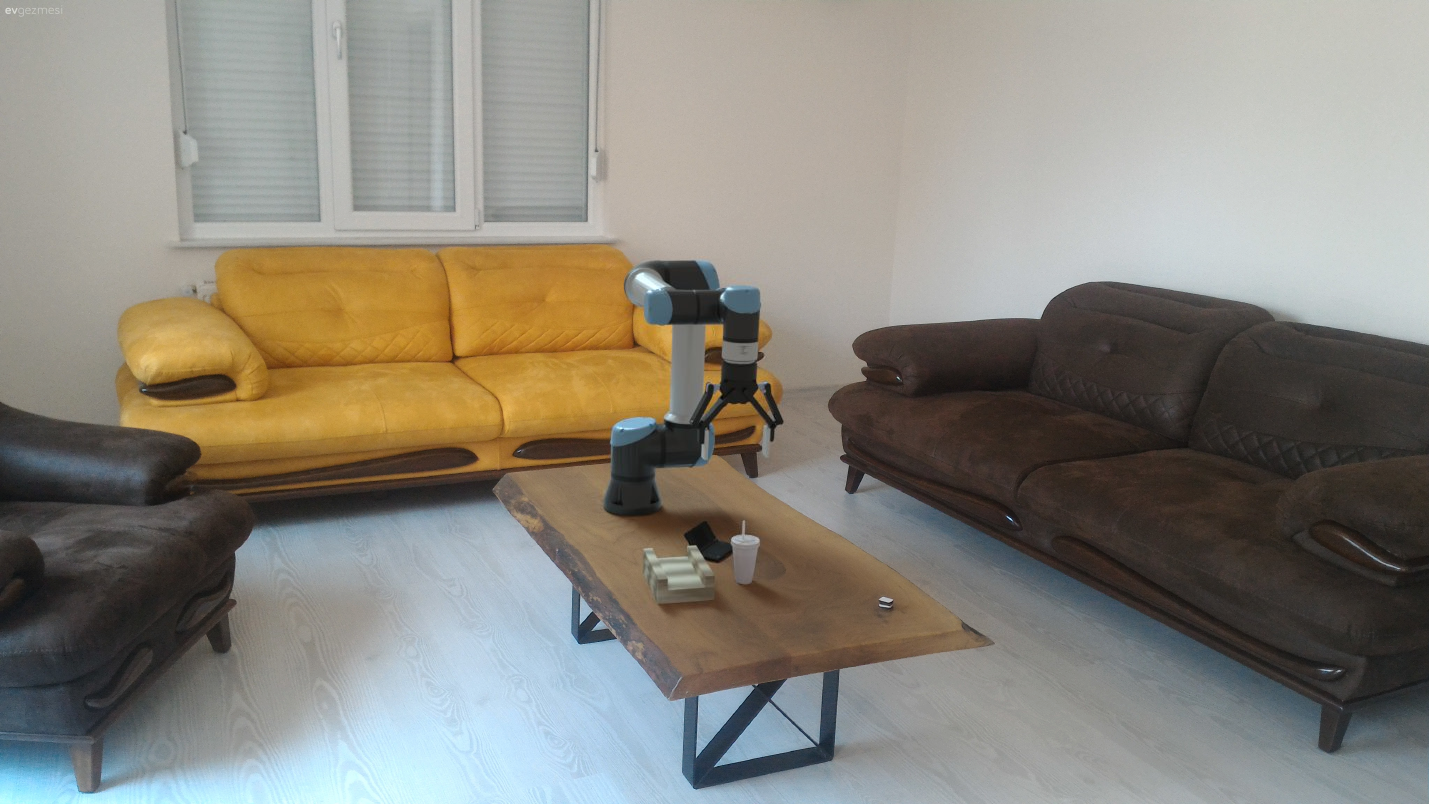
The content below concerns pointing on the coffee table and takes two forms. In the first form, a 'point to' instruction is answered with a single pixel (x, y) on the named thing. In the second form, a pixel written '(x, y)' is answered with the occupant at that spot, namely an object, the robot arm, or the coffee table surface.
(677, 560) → the tray
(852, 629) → the coffee table surface
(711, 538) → the handheld gaming console
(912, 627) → the coffee table surface
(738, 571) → the smoothie
